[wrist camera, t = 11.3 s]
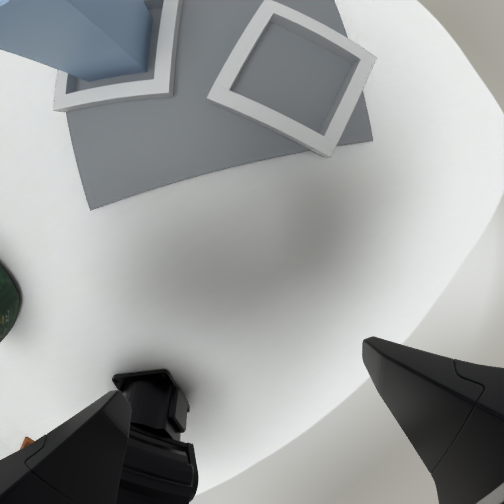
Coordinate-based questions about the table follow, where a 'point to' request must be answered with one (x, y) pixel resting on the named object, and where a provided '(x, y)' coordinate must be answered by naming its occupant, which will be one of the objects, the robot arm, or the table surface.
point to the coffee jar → (7, 303)
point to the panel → (202, 127)
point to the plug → (79, 35)
